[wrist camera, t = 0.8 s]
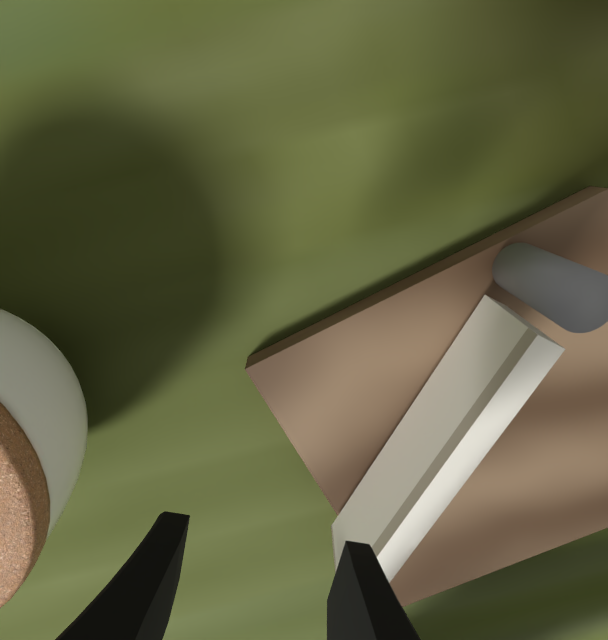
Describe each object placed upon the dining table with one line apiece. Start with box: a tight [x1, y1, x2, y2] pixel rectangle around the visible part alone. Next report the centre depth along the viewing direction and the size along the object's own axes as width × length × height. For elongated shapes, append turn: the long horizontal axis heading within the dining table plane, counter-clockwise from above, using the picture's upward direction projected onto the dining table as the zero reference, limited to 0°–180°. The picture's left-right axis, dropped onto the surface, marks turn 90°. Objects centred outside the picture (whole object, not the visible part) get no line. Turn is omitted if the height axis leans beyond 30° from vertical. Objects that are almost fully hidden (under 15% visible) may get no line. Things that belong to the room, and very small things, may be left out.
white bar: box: [331, 243, 608, 583], centre depth 17 cm, size 14×2×4 cm, turn 153°
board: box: [245, 186, 608, 607], centre depth 19 cm, size 15×15×5 cm
